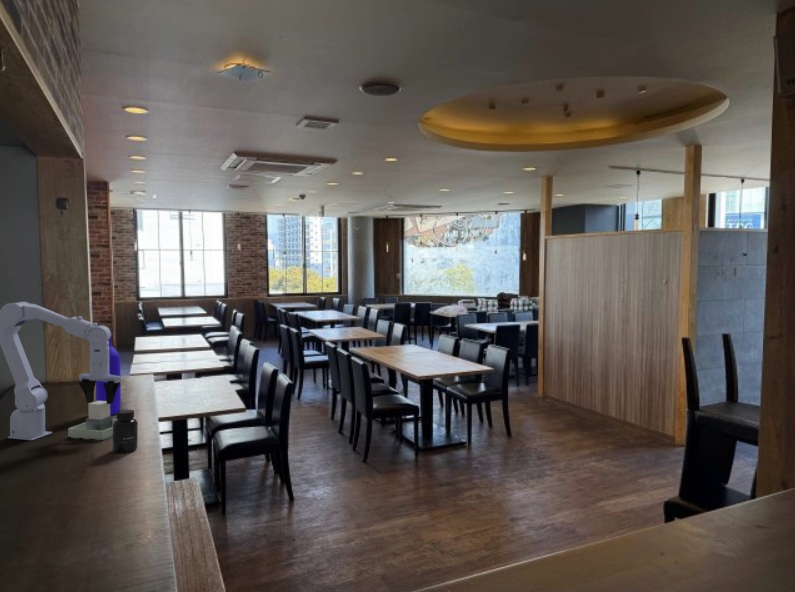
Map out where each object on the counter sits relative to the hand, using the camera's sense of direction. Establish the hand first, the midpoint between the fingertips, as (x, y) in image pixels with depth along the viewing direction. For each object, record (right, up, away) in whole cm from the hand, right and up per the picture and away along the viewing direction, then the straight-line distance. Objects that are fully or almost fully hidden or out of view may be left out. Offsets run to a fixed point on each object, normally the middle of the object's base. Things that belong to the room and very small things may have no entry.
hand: (100, 402), depth 184 cm
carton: (0, -5, 0) cm, 5 cm away
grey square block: (0, -10, 0) cm, 10 cm away
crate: (0, -10, +1) cm, 10 cm away
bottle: (-11, -9, +26) cm, 29 cm away
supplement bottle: (+16, -12, -16) cm, 25 cm away
